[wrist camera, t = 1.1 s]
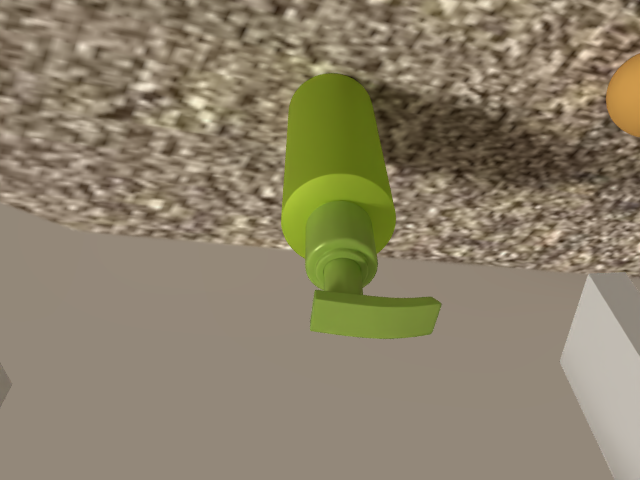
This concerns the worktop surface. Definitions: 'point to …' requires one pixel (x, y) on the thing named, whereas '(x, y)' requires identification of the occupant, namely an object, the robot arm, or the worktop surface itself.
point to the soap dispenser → (343, 211)
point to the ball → (625, 96)
